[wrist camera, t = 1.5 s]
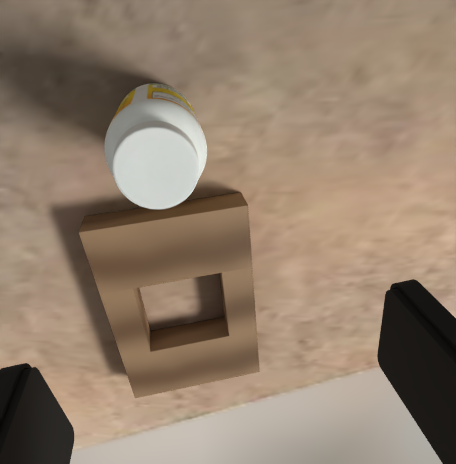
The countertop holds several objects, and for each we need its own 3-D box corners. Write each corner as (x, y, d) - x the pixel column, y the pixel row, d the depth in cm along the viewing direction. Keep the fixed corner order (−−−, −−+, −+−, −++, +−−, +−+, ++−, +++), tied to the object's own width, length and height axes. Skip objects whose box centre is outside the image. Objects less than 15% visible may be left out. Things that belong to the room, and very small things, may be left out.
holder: (84, 216, 27) (78, 232, 25) (240, 192, 28) (247, 205, 26) (136, 376, 36) (135, 398, 34) (253, 352, 37) (259, 371, 35)
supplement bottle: (182, 72, 24) (198, 95, 15) (204, 150, 26) (227, 204, 18) (102, 95, 23) (75, 130, 15) (132, 170, 26) (123, 235, 18)
